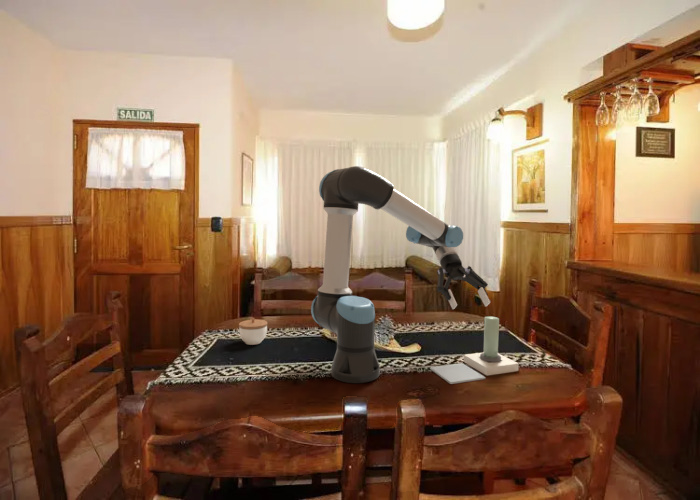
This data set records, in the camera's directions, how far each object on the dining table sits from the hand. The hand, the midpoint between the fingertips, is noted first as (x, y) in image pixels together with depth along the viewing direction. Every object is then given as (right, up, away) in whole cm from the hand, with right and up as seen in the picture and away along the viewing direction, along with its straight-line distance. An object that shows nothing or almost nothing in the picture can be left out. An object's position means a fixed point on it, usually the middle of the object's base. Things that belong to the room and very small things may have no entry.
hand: (471, 305), depth 136 cm
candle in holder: (+3, -18, -9) cm, 21 cm away
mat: (-9, -19, -15) cm, 26 cm away
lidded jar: (-80, -17, +15) cm, 84 cm away
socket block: (+3, -19, -9) cm, 21 cm away
